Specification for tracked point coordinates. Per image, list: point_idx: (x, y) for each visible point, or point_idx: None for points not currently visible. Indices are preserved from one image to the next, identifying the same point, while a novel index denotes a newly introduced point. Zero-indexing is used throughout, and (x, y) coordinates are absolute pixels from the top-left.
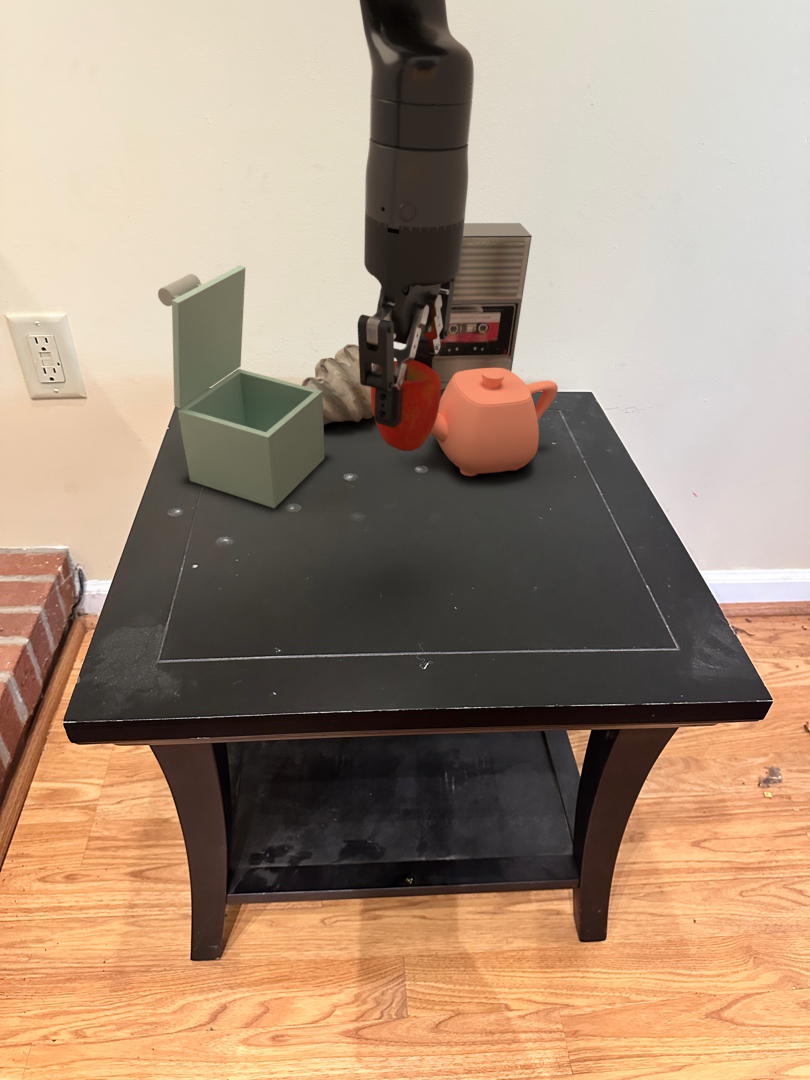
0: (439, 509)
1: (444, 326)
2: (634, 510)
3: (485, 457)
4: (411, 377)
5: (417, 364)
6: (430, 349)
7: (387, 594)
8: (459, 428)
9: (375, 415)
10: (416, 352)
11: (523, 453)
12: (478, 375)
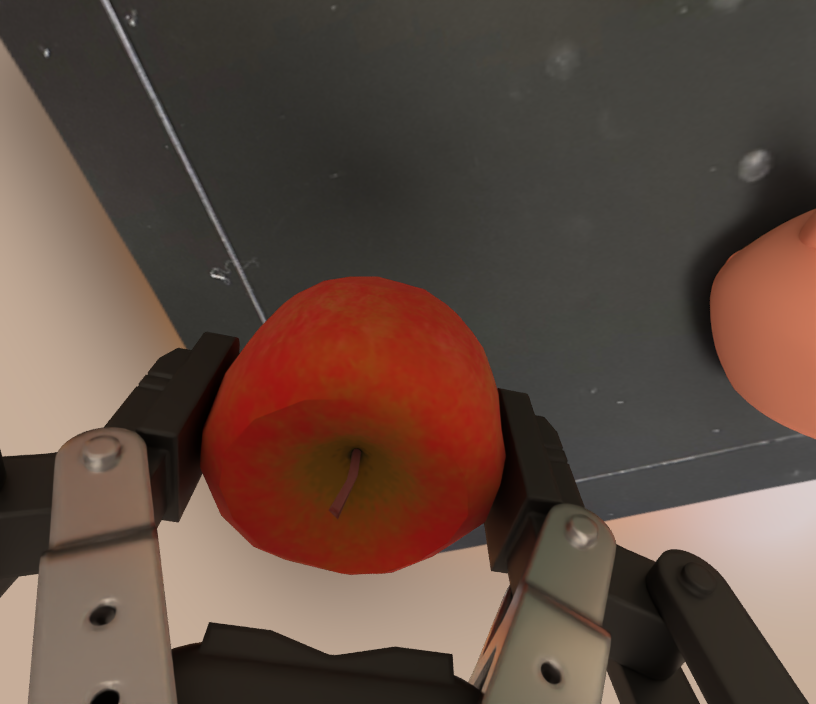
0: (604, 230)
1: (621, 702)
2: (624, 498)
3: (720, 325)
4: (383, 481)
5: (441, 518)
6: (507, 591)
7: (341, 186)
8: (797, 287)
9: (156, 361)
10: (526, 519)
11: (736, 387)
12: None
